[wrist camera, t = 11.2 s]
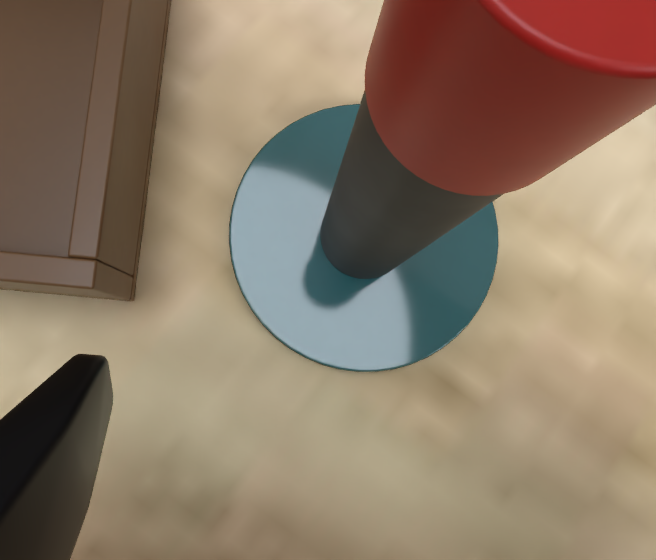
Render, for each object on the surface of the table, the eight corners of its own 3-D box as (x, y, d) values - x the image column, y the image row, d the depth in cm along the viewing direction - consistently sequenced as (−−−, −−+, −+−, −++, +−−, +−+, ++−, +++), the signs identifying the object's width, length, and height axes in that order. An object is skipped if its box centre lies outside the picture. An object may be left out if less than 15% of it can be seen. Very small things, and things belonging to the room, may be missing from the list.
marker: (424, 265, 18) (880, 10, 4) (334, 295, 18) (515, 124, 4) (393, 176, 18) (731, -338, 5) (303, 204, 18) (374, -252, 4)
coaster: (530, 320, 19) (537, 319, 18) (279, 409, 18) (279, 411, 17) (441, 78, 19) (446, 71, 19) (195, 153, 19) (192, 148, 18)
